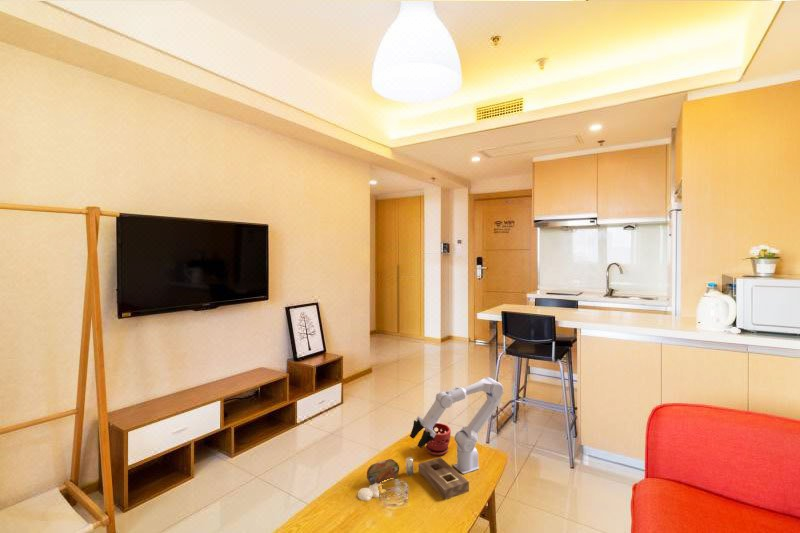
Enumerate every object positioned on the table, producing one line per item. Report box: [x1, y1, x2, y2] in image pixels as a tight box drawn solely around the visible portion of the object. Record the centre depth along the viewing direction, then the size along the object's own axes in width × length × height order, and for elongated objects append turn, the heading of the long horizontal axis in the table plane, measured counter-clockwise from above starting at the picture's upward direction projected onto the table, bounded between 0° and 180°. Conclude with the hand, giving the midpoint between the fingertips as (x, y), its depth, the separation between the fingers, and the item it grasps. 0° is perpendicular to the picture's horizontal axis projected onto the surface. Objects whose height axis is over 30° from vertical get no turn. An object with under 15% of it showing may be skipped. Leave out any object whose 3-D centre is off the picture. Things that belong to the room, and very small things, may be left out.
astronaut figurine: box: [357, 483, 380, 502], centre depth 157 cm, size 9×12×3 cm
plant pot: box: [424, 422, 451, 456], centre depth 189 cm, size 13×13×12 cm
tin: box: [366, 458, 400, 485], centre depth 165 cm, size 15×3×8 cm, turn 116°
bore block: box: [418, 457, 470, 500], centre depth 164 cm, size 12×22×4 cm, turn 26°
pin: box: [405, 456, 414, 477], centre depth 170 cm, size 3×3×7 cm
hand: (415, 442), depth 167 cm, fingers open, 7 cm apart
